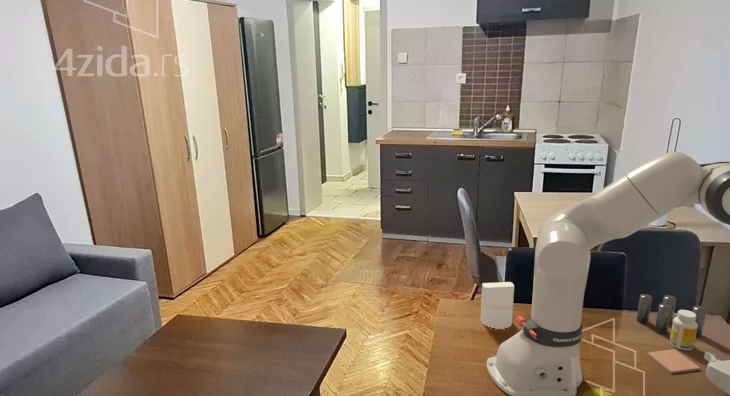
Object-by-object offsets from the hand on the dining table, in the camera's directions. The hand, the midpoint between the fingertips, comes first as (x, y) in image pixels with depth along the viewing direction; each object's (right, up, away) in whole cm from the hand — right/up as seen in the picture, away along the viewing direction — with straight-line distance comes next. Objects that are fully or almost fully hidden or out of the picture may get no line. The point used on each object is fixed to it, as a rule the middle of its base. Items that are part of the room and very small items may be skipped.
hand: (724, 352), depth 110 cm
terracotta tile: (-9, -4, +6) cm, 11 cm away
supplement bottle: (-2, -3, +13) cm, 13 cm away
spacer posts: (+1, 0, +21) cm, 21 cm away
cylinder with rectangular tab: (-47, 0, +27) cm, 54 cm away
